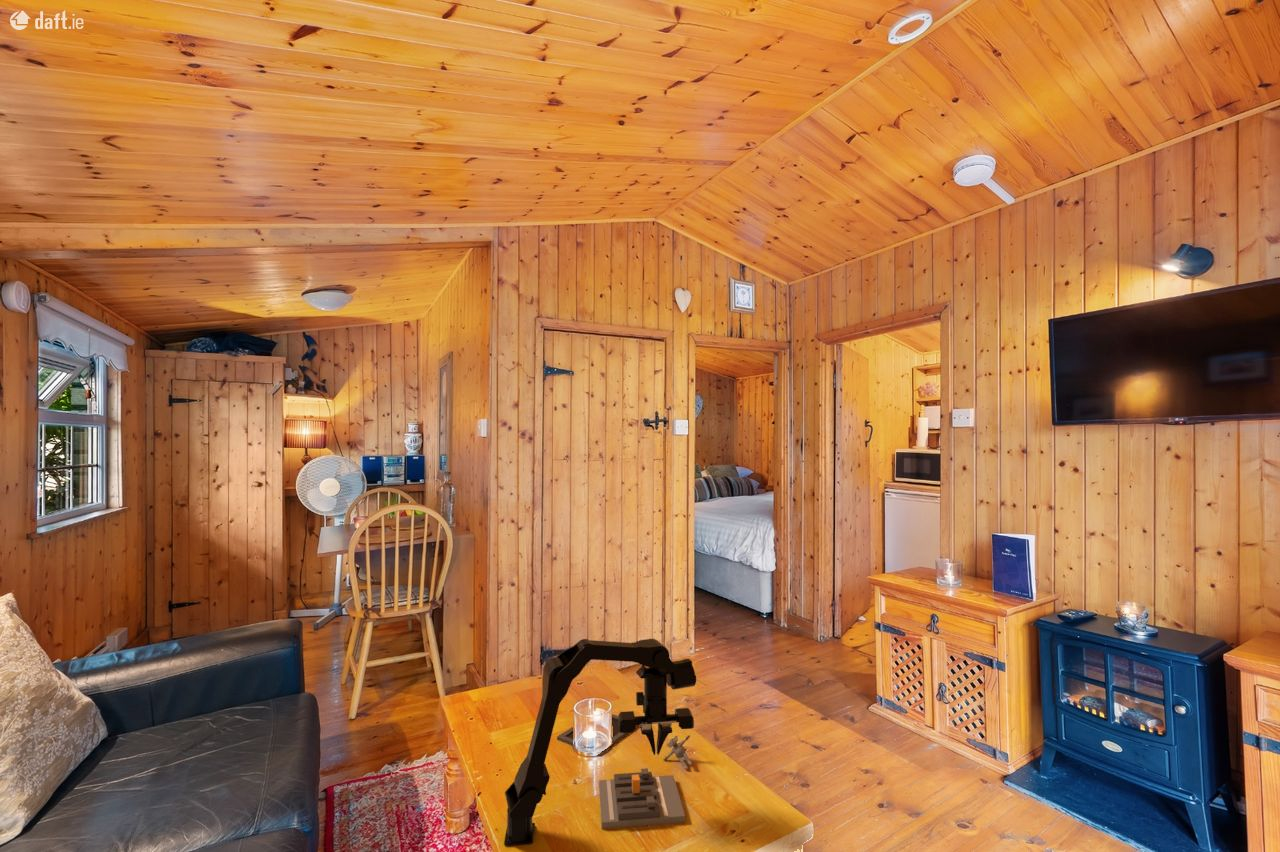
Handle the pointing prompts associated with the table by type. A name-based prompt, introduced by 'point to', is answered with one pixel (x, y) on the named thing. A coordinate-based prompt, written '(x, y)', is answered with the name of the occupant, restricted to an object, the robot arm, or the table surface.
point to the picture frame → (617, 735)
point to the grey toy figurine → (679, 751)
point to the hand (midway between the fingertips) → (656, 754)
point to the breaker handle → (635, 784)
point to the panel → (642, 822)
